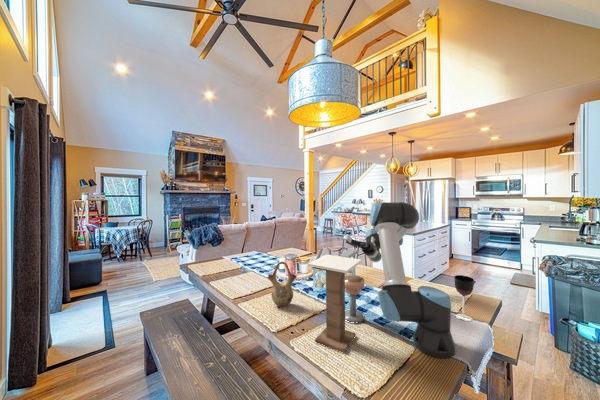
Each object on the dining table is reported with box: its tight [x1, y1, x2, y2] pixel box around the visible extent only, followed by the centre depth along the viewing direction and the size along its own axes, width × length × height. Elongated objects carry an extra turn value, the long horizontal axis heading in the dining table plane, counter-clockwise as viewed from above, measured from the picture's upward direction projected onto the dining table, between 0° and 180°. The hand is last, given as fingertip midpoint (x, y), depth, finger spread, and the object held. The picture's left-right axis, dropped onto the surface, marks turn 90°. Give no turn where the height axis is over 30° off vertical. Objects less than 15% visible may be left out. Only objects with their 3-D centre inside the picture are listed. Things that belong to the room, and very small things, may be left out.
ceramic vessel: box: [267, 261, 298, 308], centre depth 135 cm, size 16×9×25 cm, turn 91°
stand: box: [312, 267, 357, 354], centre depth 103 cm, size 14×14×33 cm
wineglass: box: [453, 274, 475, 320], centre depth 120 cm, size 8×9×20 cm
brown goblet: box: [345, 274, 365, 323], centre depth 121 cm, size 11×11×20 cm
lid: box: [307, 248, 363, 274], centre depth 108 cm, size 30×17×2 cm, turn 147°
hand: (359, 237), depth 127 cm, fingers open, 13 cm apart
